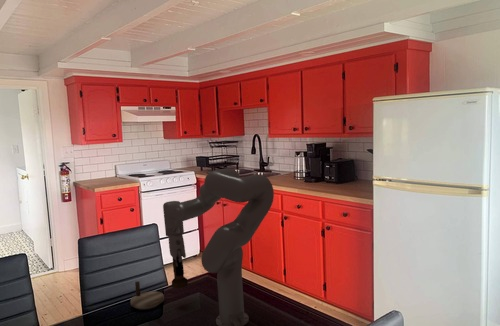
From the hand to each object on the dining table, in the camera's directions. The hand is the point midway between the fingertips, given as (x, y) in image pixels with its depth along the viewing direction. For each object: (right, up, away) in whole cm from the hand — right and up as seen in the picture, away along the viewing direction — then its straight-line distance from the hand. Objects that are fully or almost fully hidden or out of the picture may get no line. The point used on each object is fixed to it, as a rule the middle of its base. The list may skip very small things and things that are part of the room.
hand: (178, 273), depth 162 cm
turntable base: (-15, -16, +6) cm, 22 cm away
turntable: (-15, -14, +6) cm, 21 cm away
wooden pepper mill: (0, -5, 0) cm, 6 cm away
